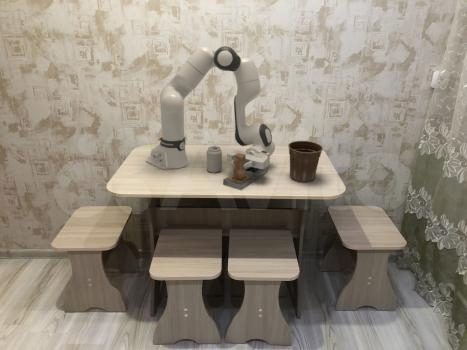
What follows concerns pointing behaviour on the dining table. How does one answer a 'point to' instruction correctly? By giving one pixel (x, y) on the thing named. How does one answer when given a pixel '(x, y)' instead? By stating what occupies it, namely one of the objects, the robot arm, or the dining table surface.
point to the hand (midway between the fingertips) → (238, 164)
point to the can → (214, 159)
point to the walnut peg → (238, 166)
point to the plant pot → (304, 160)
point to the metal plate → (248, 179)
